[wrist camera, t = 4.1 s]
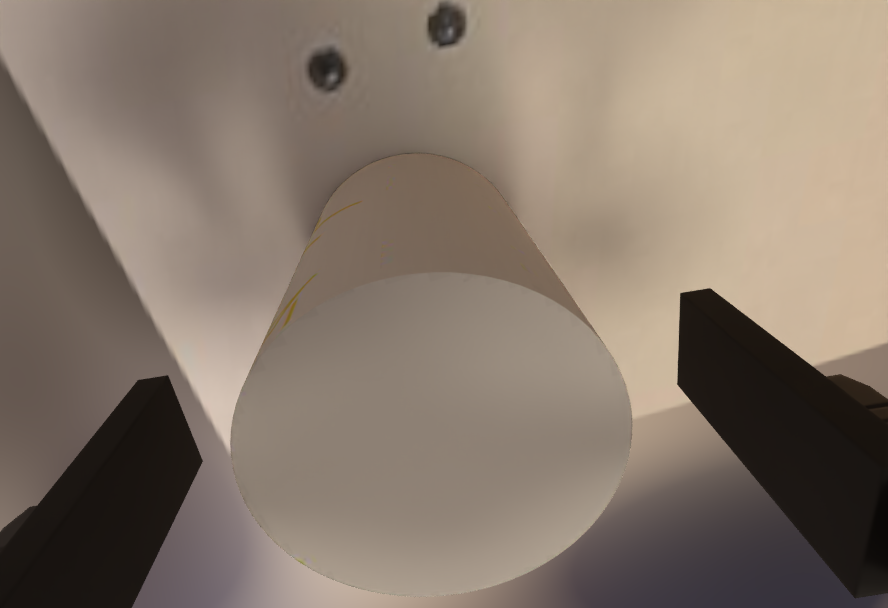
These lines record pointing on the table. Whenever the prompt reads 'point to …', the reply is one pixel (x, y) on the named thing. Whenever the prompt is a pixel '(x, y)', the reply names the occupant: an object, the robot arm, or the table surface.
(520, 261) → the white patterned cylinder
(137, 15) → the table surface
